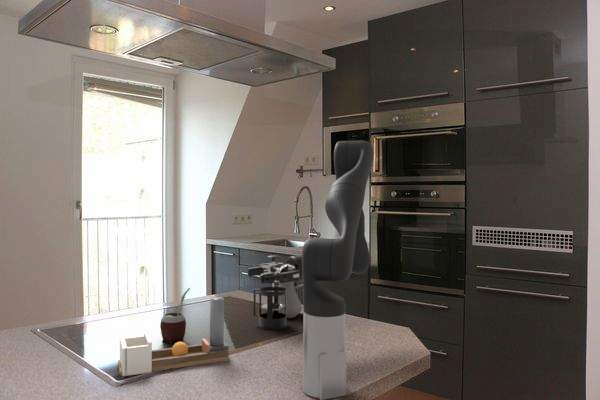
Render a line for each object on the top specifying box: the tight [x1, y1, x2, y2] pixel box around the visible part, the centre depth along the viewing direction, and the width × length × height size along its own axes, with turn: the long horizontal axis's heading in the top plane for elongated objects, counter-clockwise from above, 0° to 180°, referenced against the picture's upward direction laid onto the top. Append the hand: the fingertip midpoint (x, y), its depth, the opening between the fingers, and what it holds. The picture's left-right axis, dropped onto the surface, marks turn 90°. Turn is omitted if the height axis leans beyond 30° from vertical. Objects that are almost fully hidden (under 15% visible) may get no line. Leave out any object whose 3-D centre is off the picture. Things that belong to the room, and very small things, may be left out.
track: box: [117, 343, 229, 377], centre depth 118 cm, size 8×26×2 cm, turn 115°
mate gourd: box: [159, 287, 191, 347], centre depth 135 cm, size 8×8×15 cm
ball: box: [171, 341, 189, 356], centre depth 119 cm, size 4×4×4 cm
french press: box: [252, 254, 288, 331], centre depth 153 cm, size 12×9×23 cm
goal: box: [119, 331, 153, 377], centre depth 114 cm, size 9×6×7 cm
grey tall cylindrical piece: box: [201, 296, 230, 354], centre depth 122 cm, size 6×6×14 cm
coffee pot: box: [278, 281, 303, 319], centre depth 166 cm, size 21×12×15 cm, turn 89°
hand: (254, 275), depth 126 cm, fingers open, 8 cm apart
